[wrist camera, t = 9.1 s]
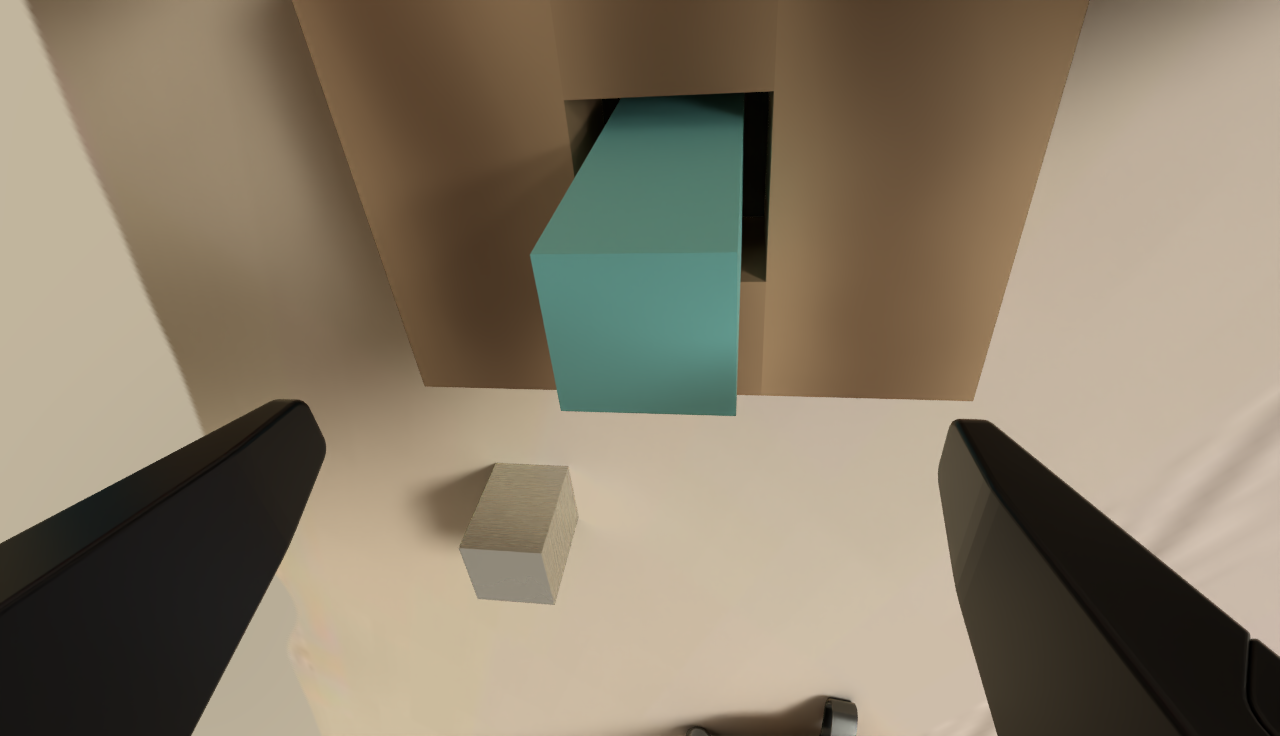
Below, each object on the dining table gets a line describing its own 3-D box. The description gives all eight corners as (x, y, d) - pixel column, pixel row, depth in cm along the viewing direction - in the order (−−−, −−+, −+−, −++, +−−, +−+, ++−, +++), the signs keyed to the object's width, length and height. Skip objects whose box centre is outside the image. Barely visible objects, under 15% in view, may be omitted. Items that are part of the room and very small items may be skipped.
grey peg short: (568, 465, 28) (541, 553, 24) (578, 516, 30) (554, 604, 26) (495, 462, 28) (458, 548, 25) (510, 512, 30) (477, 598, 26)
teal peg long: (745, 81, 18) (737, 251, 10) (743, 195, 20) (735, 415, 12) (627, 87, 18) (529, 254, 10) (637, 197, 20) (561, 410, 12)
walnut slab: (1049, -153, 14) (1136, -161, 11) (940, 321, 21) (973, 400, 18) (358, -88, 16) (264, -79, 13) (468, 317, 24) (424, 386, 20)
